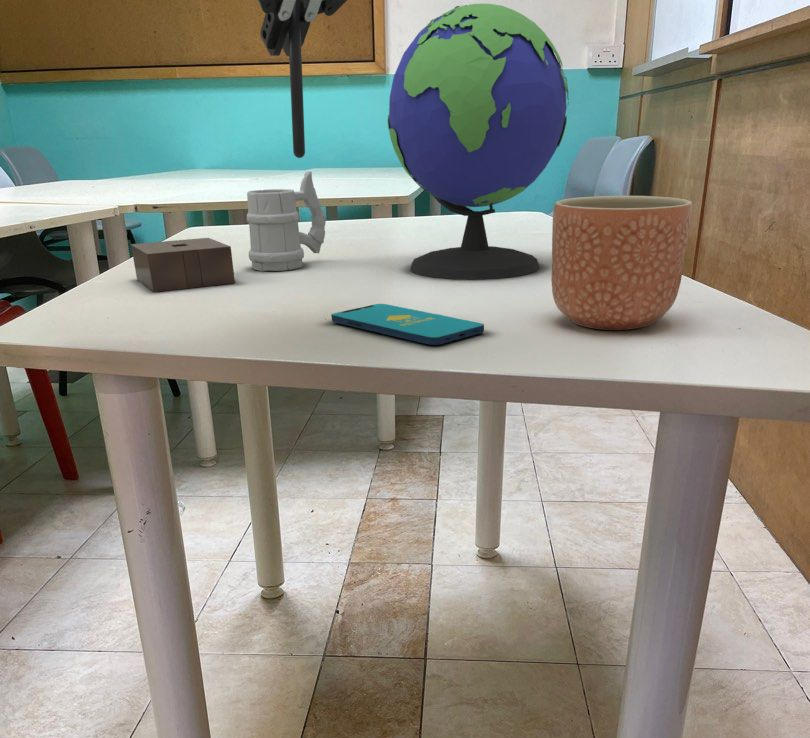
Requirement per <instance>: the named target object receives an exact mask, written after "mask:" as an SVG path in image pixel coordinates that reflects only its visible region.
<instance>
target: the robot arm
mask: <svg viewBox="0 0 810 738" xmlns="http://www.w3.org/2000/svg"><path fill="white" fill-rule="evenodd" d="M299 1H300V28H301V48H302V47H303V46H304V43H305V39H306V37H307V34H308V31H309V28H310V25H311V23H312V22H313V21H315V20H316V18H317V16H318V15H321V14H324V15H325V16H327V17H330V16H333V15H334V14H335V13H336V12H338V10H339V9H340V8H341V7H342V6H343V5H344V4H346V2H348V0H299ZM257 2H258V3H259V6H260V9H261V11H262V12H263V13H265V14H264V17H263V22H262V25H261V28H260V32H259V35H260V39H261V40H262V42H263V44H264V46H265V48H266V50H267V52H268V53H269V55H270V56H271V57H280V55H281V53H282V51H283V53H284V54H285V55H286V56H287V57H289V42H288V27H289V24H290V22H291V21H290V20H289V18H290V17H291V14H292V11H293V8H294V5H295V2H296V0H257Z"/></svg>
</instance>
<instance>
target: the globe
mask: <svg viewBox="0 0 810 738" xmlns="http://www.w3.org/2000/svg"><path fill="white" fill-rule="evenodd" d="M563 67H564V66H563V62H562V58H561V56H560V54H559V52H558V51H557V48H556V47H555V45H554V43H553V42H552V41H551V39H550V38H549V37H548V36H547V34H546V33H545V31H544V30H543V29H542V28H540V27H539V25H538V24H537V23H536V22H534V21H533V20H532V19H530V18H528V17H527V16H526V15H525V14H522V13H520V12H518V11H516V10H514V9H512V8H510V7H508V6H504V5H501V4H493V3H471V4H466V5H456V6H455V7H453V8H452V9H450V10H448V11H446V12H444V13H442V14H441V15H440V16H437V17H435V18H433V19H431V20H430V21H429V23H427V25H426V26H425V27H423V28H422V29H421V30H420V31H419V32H418V33H417V35H416V36H415V37H414V39H413V40H412V41H411V43H409V46H408V47H407V48H406V50H405V51H404V52H403V54H402V56H401V58H400V60H399V63H398V65H397V68H396V69H395V73H394V75H393V78H392V83H391V88H390V93H389V103H388V106H389V107H388V114H387V128H388V133H389V137H390V142H391V144H392V147H393V151H394V153H395V154H396V157H397V159H398V161H399V162H400V164H401V165H402V167H403V169H404V171H405V172H406V174H407V175H408V176H409V177H410V179H412V180H413V182H414V183H416V184H417V185H418V187H420V188H421V189H422V190H423V191H425V192H426V193H427V194H429V195H431V196H432V197H433V198H434V199H435V200H436V201H437V203H439V204H440V205H442V207H444V208H445V209H446V210H448V211H450V212H451V213H454V214H457V215H460V216H463V217H467V218H466V223H465V228H464V232H463V236H462V240H461V245H460V246H457V247H449V248H443V249H437V250H433V251H432V250H431V251H429V252H426V253H425V254H422V255H420V256H417V257H415V258H413V260H412V262H411V264H410V268H409V271H410V272H411V273H413V274H415V275H419V276H422V277H429V278H435V279H447V280H492V279H494V280H496V279H505V278H514V277H521V276H525V275H529V274H533V273H536V272H538V271H539V270H540V269H541V266H540V264H539V261H538V258H537V257H535V255H533V254H529V253H526V252H524V251H521V250H517V249H514V248H508V247H507V248H506V247H499V246H493V245H489V242H488V237H487V231H486V226H485V221H484V216H487V215H491V214H495V213H496V209H495V208H494V207H493V206H494V205H497V204H501V203H504V202H506V201H508V200H510V199H512V198H514V197H516V196H518V195H519V194H521V193H522V192H524V191H525V190H526V189H527V188H528V187H530V186H531V185H532V184H533V183H535V181H536V180H537V179H538V178H539V176H540V175H541V174H542V173H543V171H544V170H545V169H546V168H547V166H548V164H549V163H550V161H551V159H553V156H554V155H555V153H556V151H557V150H558V148H560V145H561V142H562V140H563V138H564V134H565V132H566V127H567V122H568V121H567V120H568V118H567V114H566V113H567V106H569V103H570V102H569V86H568V80H567V77H566V76H565V71H564V69H563ZM483 207H489V209H485V210H473V209H471V208H483Z"/></svg>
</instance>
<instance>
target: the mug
mask: <svg viewBox="0 0 810 738" xmlns="http://www.w3.org/2000/svg"><path fill="white" fill-rule="evenodd" d="M303 175H304V176H303V178H302V180H301V182H300V187H299V191H295V190H294V189H291V188H290V189H289V188H288V189H286V188H285V189H284V188H281V189H280V188H271V189H270V188H268V189H255V190H248V191H247V192H246V199H247V200H246V201H247V213H246V221H247V223H248V226H249V242H250V243H249V244H250V249H249V250H248V260H249V261H250V262H251V267H252V269H253V270H254V271H259V272H283V271H292V270H297V269H300V268H302V267H303V265H304V263H303V259H304V258H305V252H304V248H302V246H301V245H303V246H305V247H307V248H309V250H310V251H311V252H312V253H313V254H320V252H321V247H322V245H323V244H324V241H325V236H326V230H325V228H326V227H325V226H326V222H327V221H326V215H325V214H324V210H323V208H322V205H321V203H320V200H319V198H318V195H317V191H316V188H315V185H314V182H313V171H311V170H310V171H309V170H308V171H305V172H304V174H303ZM299 201H300V202H301V201H303V203H304V204H305V206H306V208H307V209H309V212H310V215H311V216H310V218H311V227H310V228H309V231H308V232H307V233H305V232H301V231H300V230H299V220H300V213H299V211H298V210H297V202H299Z"/></svg>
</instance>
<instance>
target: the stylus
mask: <svg viewBox="0 0 810 738" xmlns="http://www.w3.org/2000/svg"><path fill="white" fill-rule="evenodd" d="M289 20H290V21H291V22H290V24H289V27H288V42H289V56H288V60H289V82H290V87H289V88H290V106H291V108H290V109H291V110H290V111H291V128H292V130H291V131H292V150H293V151H292V152H293V155H294V156H295V157H296V158H298V159H302V158H303V157H304V156H305V155H306V140H305V113H304V111H305V109H304V108H305V107H304V88H303V87H304V83H303V61H302V60H303V57H302V56H303V55H302V47H301V28H300V1H299V0H296V2H295V5H294V8H293V11H292V14H291V17H290V18H289Z"/></svg>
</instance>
